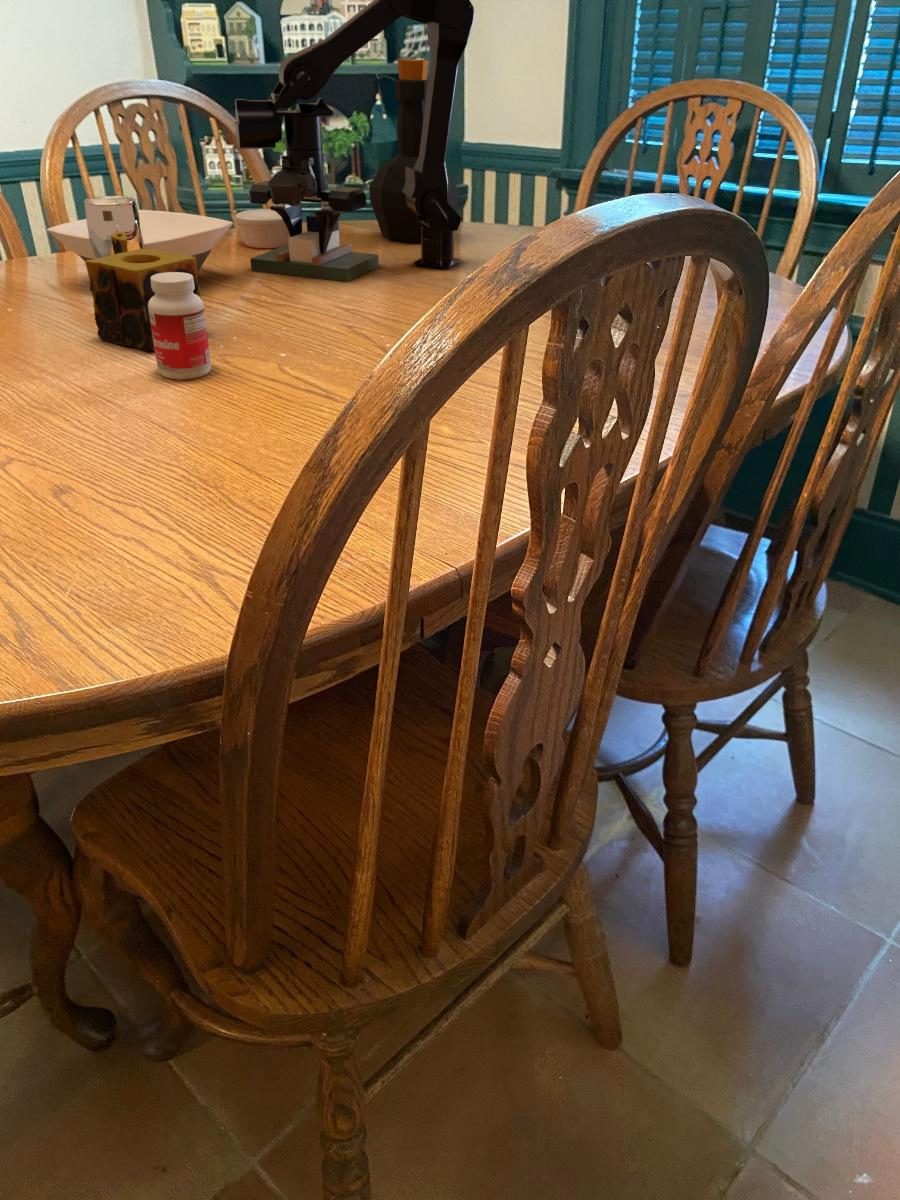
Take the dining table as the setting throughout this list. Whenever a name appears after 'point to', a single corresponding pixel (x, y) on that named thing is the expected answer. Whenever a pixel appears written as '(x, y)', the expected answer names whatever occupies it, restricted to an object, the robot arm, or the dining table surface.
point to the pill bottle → (178, 327)
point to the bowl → (156, 234)
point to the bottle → (404, 158)
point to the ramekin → (262, 228)
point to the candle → (131, 292)
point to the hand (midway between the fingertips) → (310, 251)
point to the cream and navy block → (310, 241)
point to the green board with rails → (317, 263)
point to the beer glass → (113, 225)
